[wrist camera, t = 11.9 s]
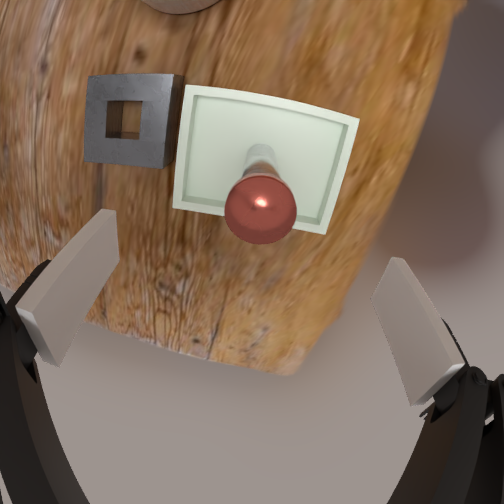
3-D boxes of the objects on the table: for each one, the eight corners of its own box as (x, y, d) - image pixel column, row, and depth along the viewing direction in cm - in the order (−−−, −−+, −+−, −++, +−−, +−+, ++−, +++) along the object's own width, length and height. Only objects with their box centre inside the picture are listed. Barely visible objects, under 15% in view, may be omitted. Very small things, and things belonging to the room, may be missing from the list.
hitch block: (100, 153, 30) (84, 161, 27) (106, 76, 25) (88, 76, 21) (173, 159, 31) (162, 168, 27) (184, 76, 26) (173, 74, 22)
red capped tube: (238, 172, 31) (220, 238, 18) (244, 134, 29) (229, 172, 16) (276, 179, 31) (287, 249, 18) (284, 142, 29) (304, 186, 16)
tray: (178, 199, 34) (172, 207, 31) (191, 85, 26) (185, 84, 24) (321, 225, 35) (325, 234, 33) (352, 117, 27) (359, 119, 25)
